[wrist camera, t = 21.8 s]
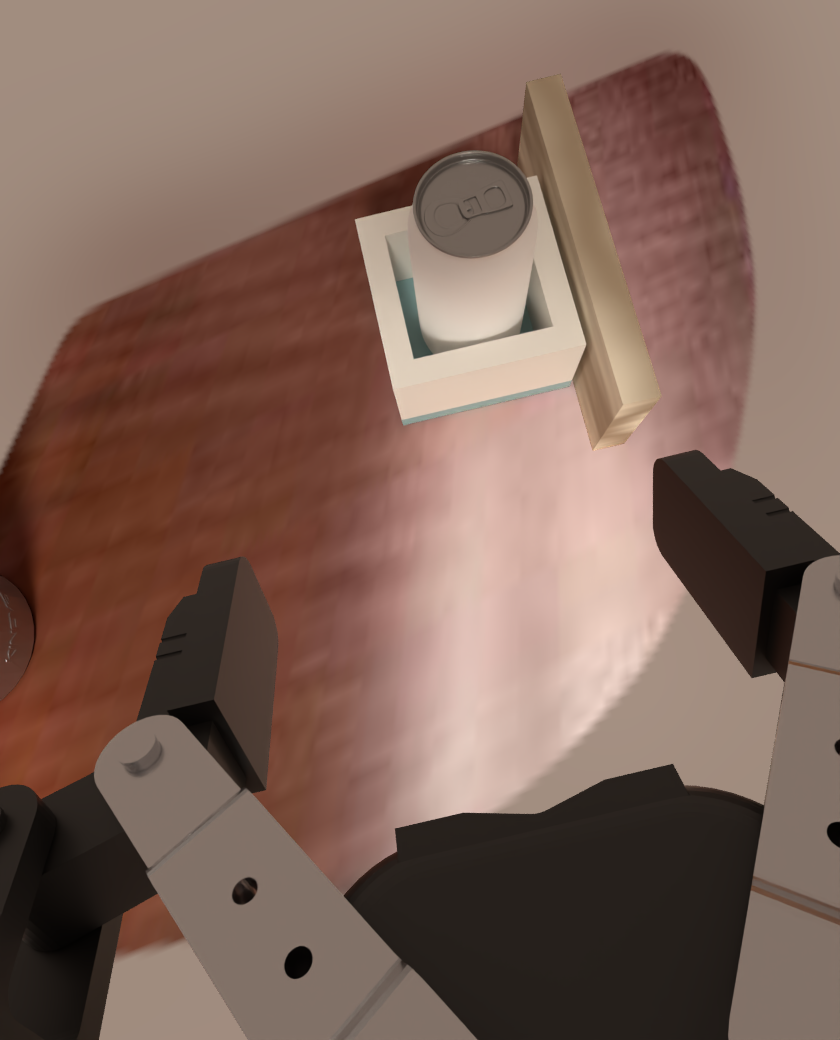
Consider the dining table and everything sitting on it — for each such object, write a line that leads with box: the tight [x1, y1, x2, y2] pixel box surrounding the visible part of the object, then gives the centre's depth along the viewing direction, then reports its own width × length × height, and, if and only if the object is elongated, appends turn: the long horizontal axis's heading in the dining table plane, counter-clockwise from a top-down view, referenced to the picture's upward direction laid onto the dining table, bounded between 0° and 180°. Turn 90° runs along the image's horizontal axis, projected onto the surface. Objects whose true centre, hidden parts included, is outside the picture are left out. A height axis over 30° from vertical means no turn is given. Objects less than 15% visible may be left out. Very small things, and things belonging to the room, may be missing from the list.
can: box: [407, 150, 538, 354], centre depth 36 cm, size 6×6×12 cm
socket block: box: [355, 175, 586, 425], centre depth 40 cm, size 11×11×6 cm
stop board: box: [517, 74, 661, 451], centre depth 39 cm, size 2×20×8 cm, turn 12°
